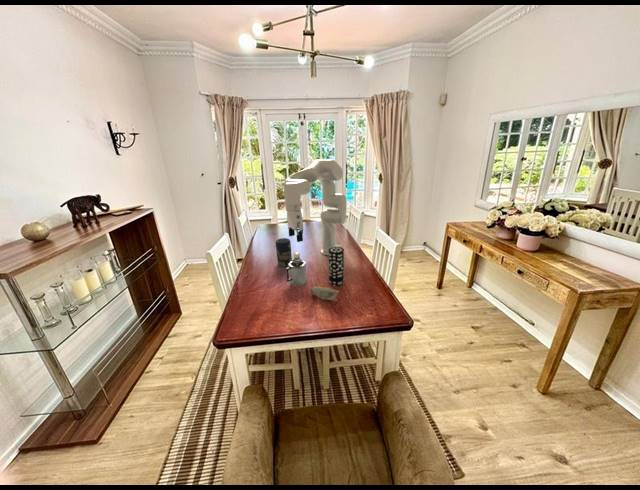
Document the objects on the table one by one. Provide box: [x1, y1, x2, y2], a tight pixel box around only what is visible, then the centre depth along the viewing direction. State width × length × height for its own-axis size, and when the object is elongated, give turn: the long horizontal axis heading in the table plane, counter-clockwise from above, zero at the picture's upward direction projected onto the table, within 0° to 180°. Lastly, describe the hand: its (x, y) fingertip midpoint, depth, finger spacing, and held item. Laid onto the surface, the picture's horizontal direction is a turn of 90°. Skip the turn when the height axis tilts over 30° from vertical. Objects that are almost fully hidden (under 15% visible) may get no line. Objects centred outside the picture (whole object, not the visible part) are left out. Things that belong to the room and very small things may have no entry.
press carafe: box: [285, 259, 307, 287], centre depth 140 cm, size 11×9×12 cm
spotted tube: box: [328, 247, 345, 287], centre depth 138 cm, size 8×8×20 cm
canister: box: [275, 237, 293, 267], centre depth 162 cm, size 10×10×18 cm
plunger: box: [292, 251, 302, 267], centre depth 139 cm, size 6×6×16 cm
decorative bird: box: [311, 285, 341, 306], centre depth 125 cm, size 5×16×8 cm, turn 57°
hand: (295, 238), depth 133 cm, fingers open, 9 cm apart
